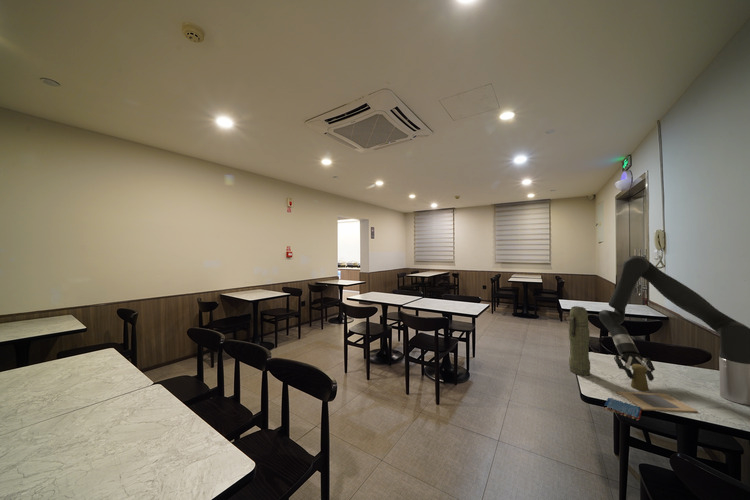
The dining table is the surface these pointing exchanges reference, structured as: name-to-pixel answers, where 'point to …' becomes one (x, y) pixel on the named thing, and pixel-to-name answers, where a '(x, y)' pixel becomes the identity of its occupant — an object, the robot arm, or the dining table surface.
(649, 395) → the tan flat board
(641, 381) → the cork
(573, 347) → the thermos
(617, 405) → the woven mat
